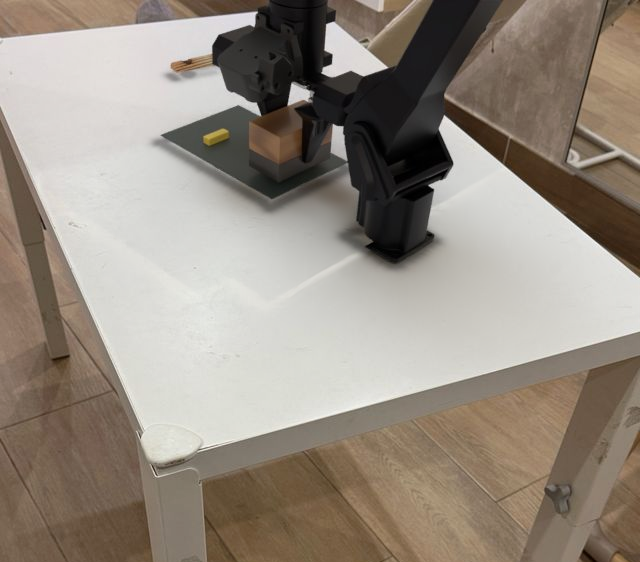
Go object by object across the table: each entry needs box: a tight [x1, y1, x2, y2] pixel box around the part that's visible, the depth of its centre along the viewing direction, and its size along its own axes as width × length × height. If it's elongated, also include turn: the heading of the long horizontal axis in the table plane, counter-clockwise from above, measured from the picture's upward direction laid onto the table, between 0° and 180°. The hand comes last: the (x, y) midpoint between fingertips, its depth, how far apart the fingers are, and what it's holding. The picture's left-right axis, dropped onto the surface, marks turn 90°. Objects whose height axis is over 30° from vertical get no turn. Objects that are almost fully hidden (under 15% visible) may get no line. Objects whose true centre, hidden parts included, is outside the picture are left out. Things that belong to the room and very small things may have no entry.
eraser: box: [249, 99, 334, 182], centre depth 86 cm, size 4×8×5 cm, turn 137°
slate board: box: [160, 104, 348, 200], centre depth 91 cm, size 18×12×1 cm, turn 47°
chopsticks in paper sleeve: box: [170, 53, 215, 73], centre depth 108 cm, size 4×3×20 cm
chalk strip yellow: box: [203, 129, 229, 146], centre depth 91 cm, size 1×3×1 cm, turn 137°
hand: (290, 153), depth 87 cm, fingers closed on eraser, 4 cm apart
